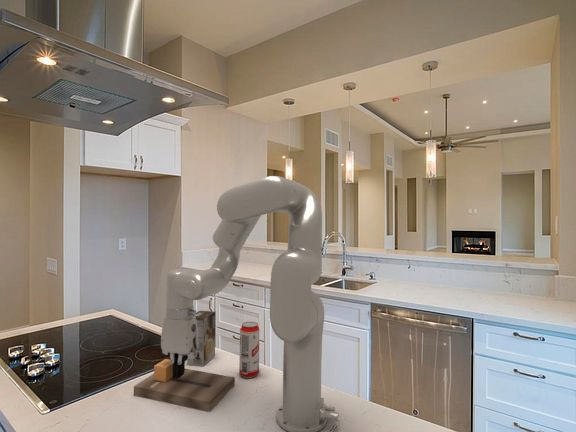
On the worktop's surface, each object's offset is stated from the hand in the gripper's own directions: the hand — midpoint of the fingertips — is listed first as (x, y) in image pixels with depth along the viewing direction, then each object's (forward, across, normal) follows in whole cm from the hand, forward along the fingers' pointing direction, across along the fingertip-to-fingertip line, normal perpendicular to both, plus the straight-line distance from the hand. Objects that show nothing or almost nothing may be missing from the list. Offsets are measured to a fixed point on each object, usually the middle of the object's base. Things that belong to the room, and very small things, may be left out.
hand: (178, 375), depth 95 cm
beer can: (+4, -16, -15) cm, 22 cm away
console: (+4, -2, 0) cm, 4 cm away
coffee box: (+4, +4, -19) cm, 20 cm away
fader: (+1, +5, 0) cm, 5 cm away
